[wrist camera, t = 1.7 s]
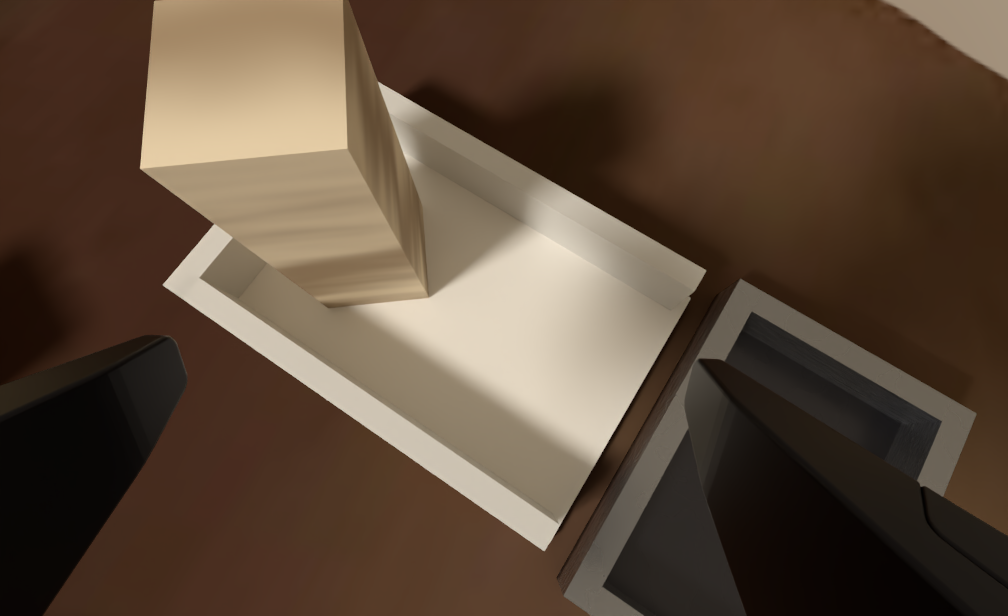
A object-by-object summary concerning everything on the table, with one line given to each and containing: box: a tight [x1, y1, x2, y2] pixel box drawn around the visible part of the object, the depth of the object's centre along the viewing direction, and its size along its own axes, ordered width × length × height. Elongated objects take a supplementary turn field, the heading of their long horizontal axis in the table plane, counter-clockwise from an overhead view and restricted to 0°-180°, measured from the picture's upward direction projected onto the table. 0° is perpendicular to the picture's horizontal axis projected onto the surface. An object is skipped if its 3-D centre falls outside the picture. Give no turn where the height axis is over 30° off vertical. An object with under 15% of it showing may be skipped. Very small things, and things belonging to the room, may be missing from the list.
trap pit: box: [557, 279, 977, 616], centre depth 20 cm, size 14×10×2 cm
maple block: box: [140, 0, 429, 308], centre depth 17 cm, size 4×4×12 cm
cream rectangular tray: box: [163, 82, 706, 551], centre depth 22 cm, size 12×18×4 cm, turn 57°
